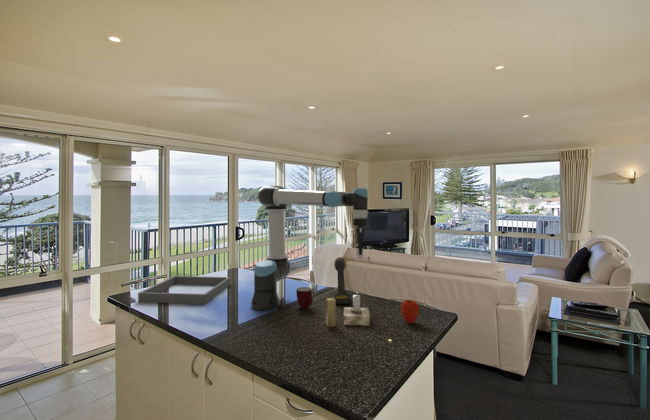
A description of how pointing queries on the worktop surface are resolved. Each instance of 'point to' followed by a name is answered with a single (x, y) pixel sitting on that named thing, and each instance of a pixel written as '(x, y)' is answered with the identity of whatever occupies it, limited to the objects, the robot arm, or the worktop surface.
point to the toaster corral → (155, 296)
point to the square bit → (330, 312)
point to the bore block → (356, 317)
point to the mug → (304, 297)
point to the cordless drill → (341, 282)
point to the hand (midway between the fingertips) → (359, 258)
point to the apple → (409, 310)
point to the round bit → (356, 304)
